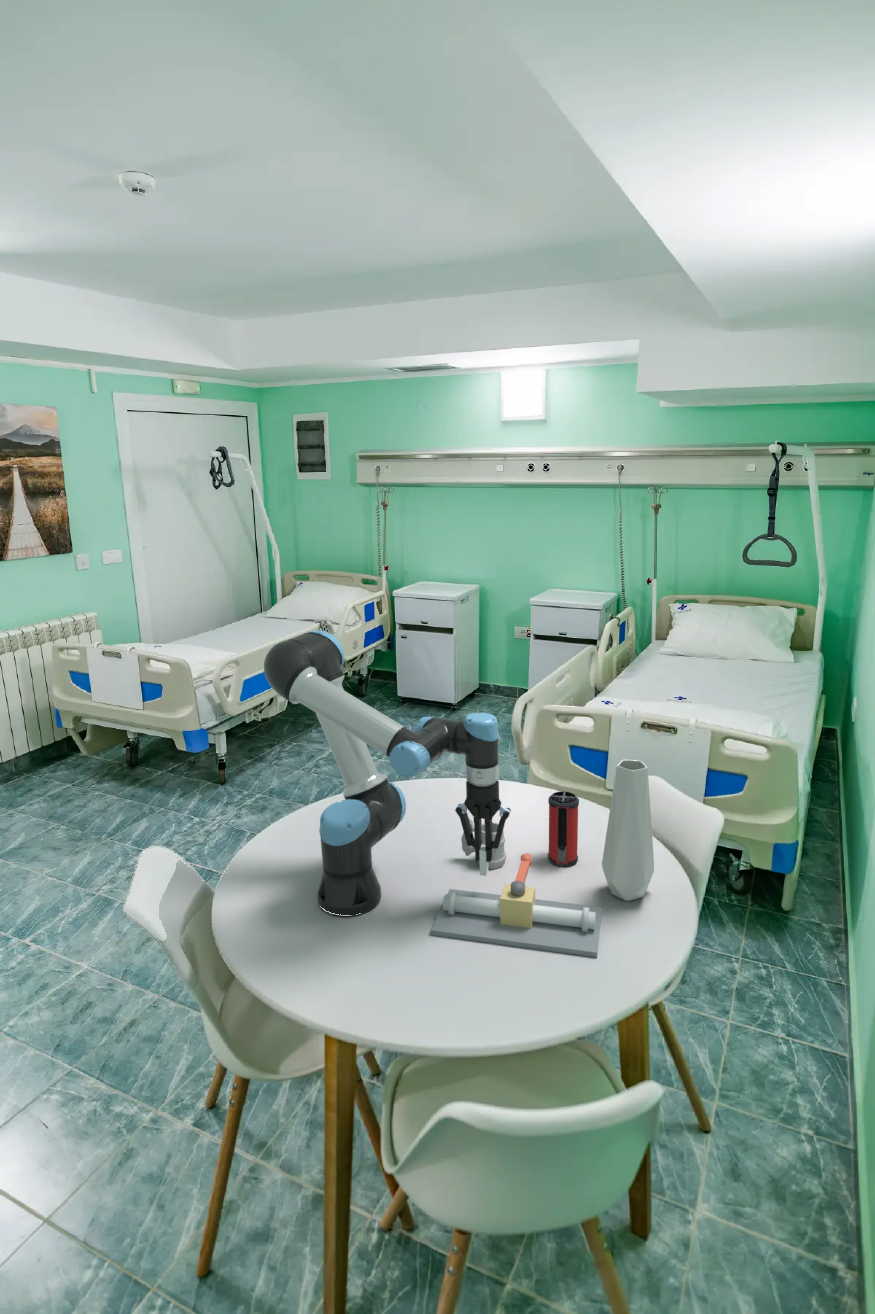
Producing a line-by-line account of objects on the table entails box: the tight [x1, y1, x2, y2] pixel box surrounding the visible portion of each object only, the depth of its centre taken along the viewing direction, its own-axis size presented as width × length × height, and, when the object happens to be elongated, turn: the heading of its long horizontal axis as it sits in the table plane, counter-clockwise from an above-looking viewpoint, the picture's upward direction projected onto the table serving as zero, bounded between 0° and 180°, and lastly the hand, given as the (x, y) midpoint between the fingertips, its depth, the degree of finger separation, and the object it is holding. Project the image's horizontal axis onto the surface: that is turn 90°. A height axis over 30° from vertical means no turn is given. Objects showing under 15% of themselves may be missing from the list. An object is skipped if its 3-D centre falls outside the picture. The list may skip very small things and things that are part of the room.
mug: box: [460, 816, 507, 870], centre depth 196 cm, size 8×12×12 cm, turn 75°
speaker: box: [547, 790, 580, 867], centre depth 194 cm, size 8×8×18 cm
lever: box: [510, 853, 533, 896], centre depth 174 cm, size 15×3×2 cm, turn 165°
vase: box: [601, 759, 655, 902], centre depth 177 cm, size 12×12×33 cm
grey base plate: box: [430, 884, 603, 958], centre depth 169 cm, size 36×17×8 cm, turn 75°
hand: (484, 872), depth 178 cm, fingers closed
